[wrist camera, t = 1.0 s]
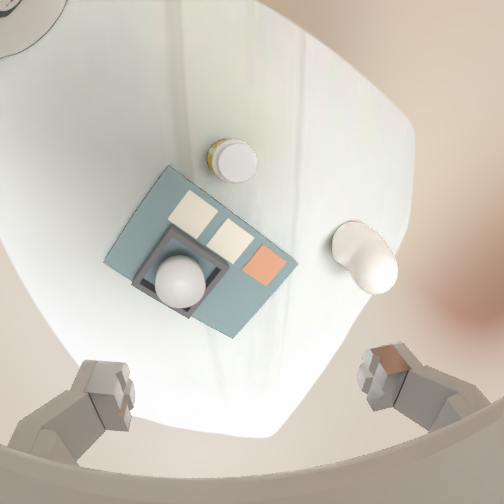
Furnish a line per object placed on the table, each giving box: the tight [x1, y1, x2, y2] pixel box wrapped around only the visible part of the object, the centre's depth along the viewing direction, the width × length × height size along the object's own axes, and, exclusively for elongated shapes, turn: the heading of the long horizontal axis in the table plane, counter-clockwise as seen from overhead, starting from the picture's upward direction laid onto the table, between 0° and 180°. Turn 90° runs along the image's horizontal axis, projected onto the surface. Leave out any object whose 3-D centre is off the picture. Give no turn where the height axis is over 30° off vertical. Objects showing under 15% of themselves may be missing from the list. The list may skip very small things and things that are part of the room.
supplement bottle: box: [207, 139, 258, 183], centre depth 33 cm, size 5×5×8 cm
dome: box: [155, 255, 206, 308], centre depth 37 cm, size 6×6×4 cm
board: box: [103, 166, 298, 339], centre depth 40 cm, size 22×15×3 cm
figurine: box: [332, 222, 398, 295], centre depth 40 cm, size 7×8×12 cm
